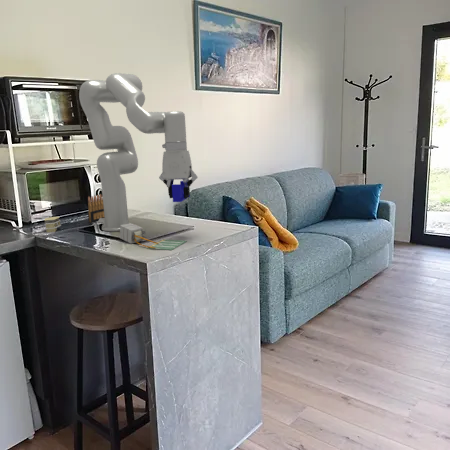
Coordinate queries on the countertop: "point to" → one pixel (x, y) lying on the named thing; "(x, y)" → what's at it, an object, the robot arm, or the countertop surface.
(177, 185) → the cable clip
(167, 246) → the header pad
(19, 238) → the countertop surface
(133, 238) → the electrical component
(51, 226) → the stacked layers on plate
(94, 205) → the ammunition clip
